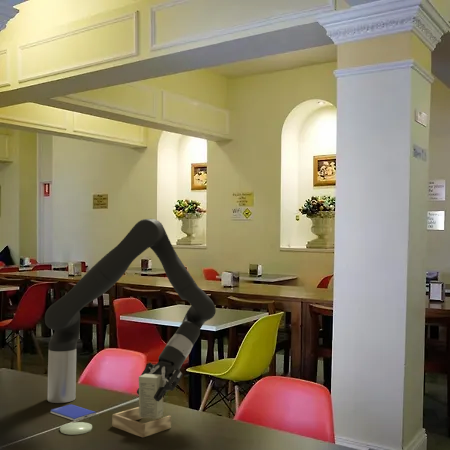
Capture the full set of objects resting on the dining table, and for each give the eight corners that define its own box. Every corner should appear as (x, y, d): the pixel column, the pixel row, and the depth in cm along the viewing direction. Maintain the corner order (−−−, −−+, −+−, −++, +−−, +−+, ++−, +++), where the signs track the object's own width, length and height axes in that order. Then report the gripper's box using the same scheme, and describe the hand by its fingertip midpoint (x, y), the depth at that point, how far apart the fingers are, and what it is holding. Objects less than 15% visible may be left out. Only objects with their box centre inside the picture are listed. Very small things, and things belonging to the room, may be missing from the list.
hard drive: (50, 409, 177) (75, 417, 169) (71, 403, 183) (96, 411, 176) (50, 414, 177) (74, 423, 169) (71, 408, 183) (96, 416, 176)
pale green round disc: (62, 424, 166) (62, 422, 166) (93, 423, 167) (93, 421, 167) (58, 435, 157) (58, 433, 157) (90, 434, 158) (91, 431, 158)
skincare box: (163, 415, 168) (164, 374, 168) (157, 419, 164) (157, 378, 164) (144, 413, 170) (145, 372, 171) (137, 417, 166) (138, 376, 167)
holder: (140, 417, 173) (140, 406, 173) (170, 427, 164) (171, 415, 164) (112, 426, 165) (112, 414, 165) (142, 437, 156) (142, 424, 156)
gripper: (154, 341, 178) (125, 385, 169) (186, 347, 169) (156, 394, 160) (166, 355, 182) (138, 399, 173) (198, 362, 173) (170, 409, 163)
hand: (147, 397), depth 166 cm, fingers closed on skincare box, 7 cm apart
